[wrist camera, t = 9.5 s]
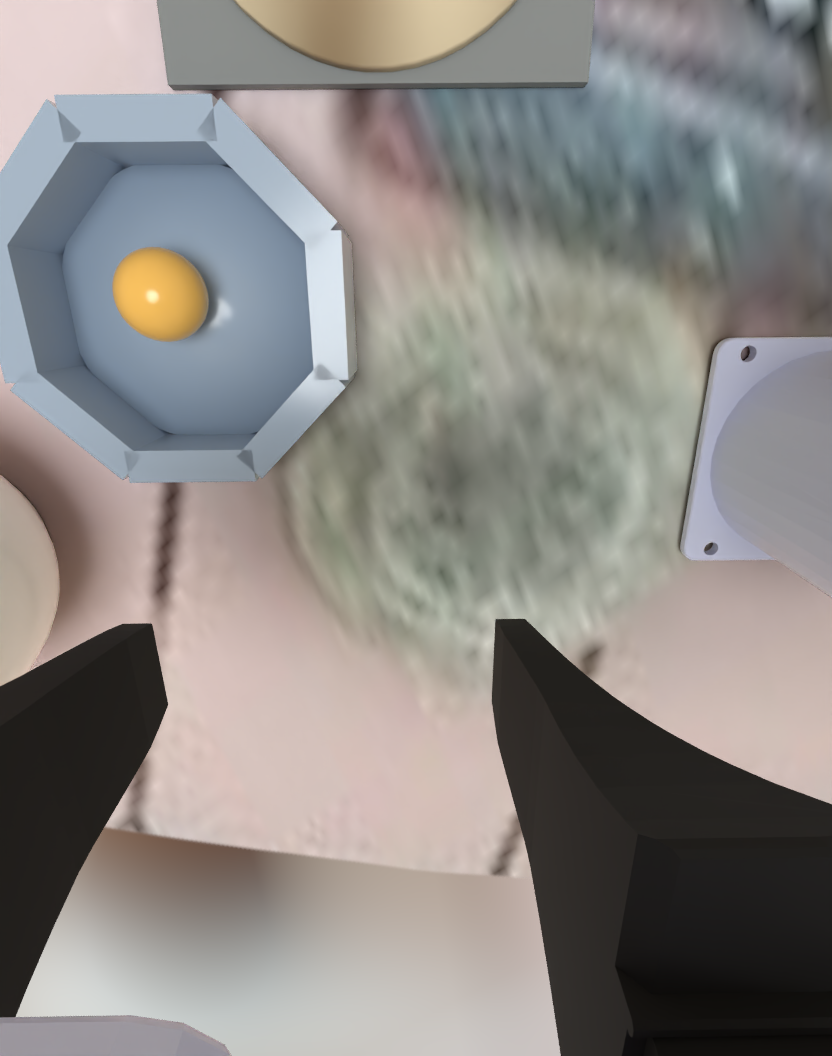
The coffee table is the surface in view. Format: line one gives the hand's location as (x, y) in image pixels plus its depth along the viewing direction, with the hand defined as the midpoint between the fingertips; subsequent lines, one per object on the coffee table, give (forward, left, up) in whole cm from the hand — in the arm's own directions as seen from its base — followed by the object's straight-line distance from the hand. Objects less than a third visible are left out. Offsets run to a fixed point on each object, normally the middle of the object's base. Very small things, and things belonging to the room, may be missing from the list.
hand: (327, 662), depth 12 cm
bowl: (+5, -7, -10) cm, 13 cm away
